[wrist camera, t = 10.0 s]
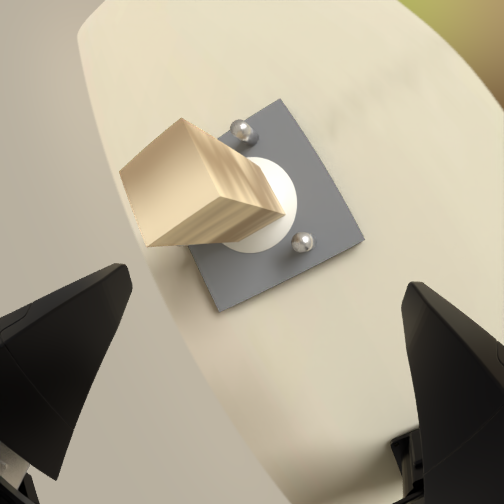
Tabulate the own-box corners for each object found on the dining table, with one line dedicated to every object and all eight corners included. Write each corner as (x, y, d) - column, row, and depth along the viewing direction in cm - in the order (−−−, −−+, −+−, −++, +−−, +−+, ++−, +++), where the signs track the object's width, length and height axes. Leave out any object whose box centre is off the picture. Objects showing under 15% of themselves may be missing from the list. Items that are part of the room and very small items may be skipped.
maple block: (286, 214, 20) (220, 196, 10) (238, 242, 21) (146, 247, 12) (259, 166, 20) (181, 117, 11) (215, 195, 22) (119, 171, 12)
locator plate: (364, 239, 19) (366, 240, 16) (225, 309, 23) (203, 320, 20) (283, 103, 20) (270, 83, 17) (167, 182, 24) (141, 176, 21)
